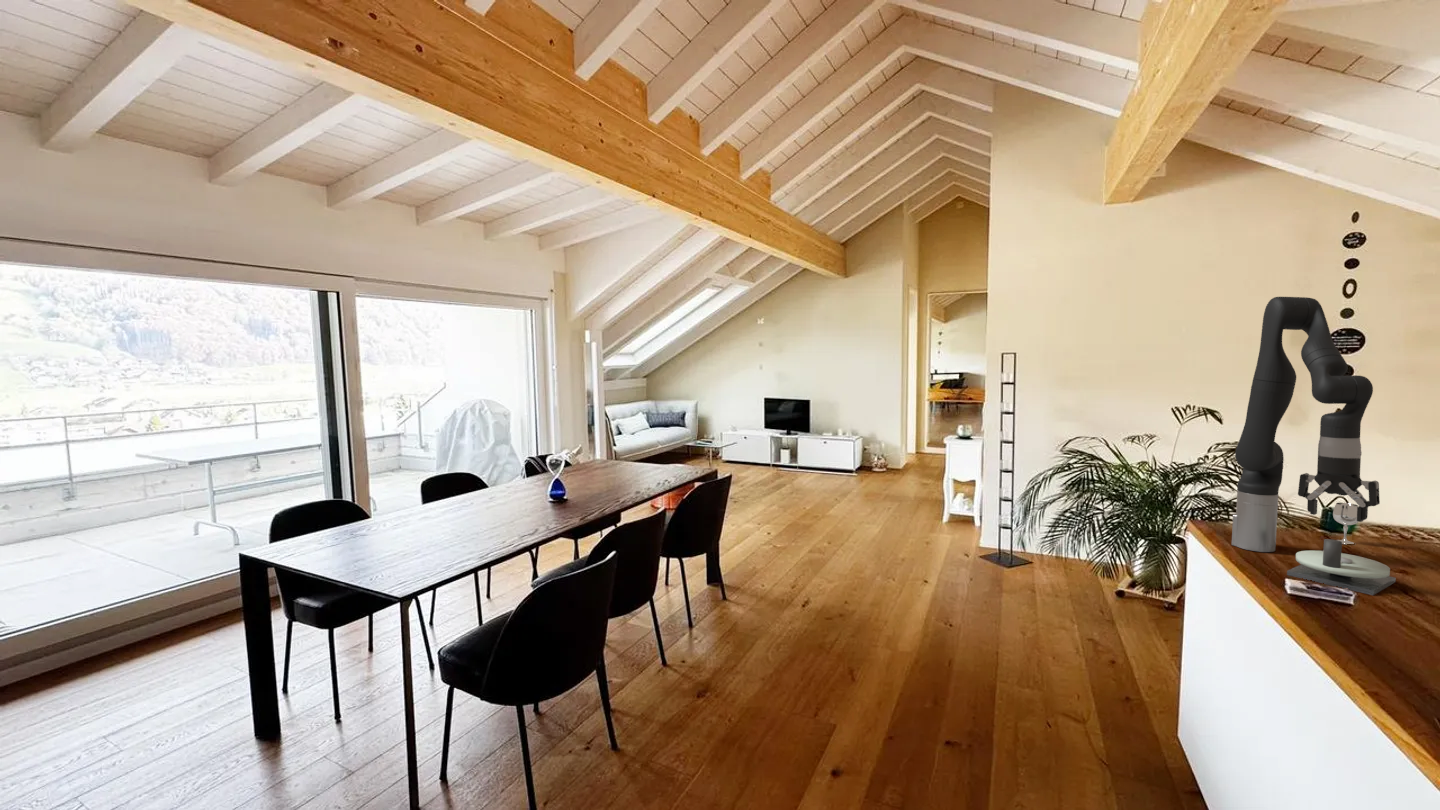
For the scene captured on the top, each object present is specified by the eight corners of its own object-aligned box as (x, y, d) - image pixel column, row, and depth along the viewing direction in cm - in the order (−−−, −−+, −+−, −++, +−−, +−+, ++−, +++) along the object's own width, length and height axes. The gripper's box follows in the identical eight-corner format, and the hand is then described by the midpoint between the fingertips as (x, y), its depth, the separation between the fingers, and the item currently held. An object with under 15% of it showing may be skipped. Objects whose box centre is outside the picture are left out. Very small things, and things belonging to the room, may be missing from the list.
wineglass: (1363, 545, 180) (1366, 507, 179) (1341, 545, 181) (1343, 506, 180) (1348, 540, 186) (1350, 502, 185) (1326, 539, 187) (1328, 501, 186)
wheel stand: (1287, 574, 159) (1287, 564, 159) (1311, 563, 166) (1311, 553, 166) (1373, 595, 145) (1373, 583, 145) (1395, 582, 152) (1396, 570, 152)
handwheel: (1310, 551, 167) (1311, 524, 166) (1399, 569, 152) (1401, 539, 151) (1284, 562, 159) (1286, 533, 158) (1376, 583, 144) (1378, 551, 143)
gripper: (1295, 452, 154) (1293, 514, 155) (1374, 459, 142) (1371, 526, 143) (1306, 450, 158) (1304, 509, 159) (1385, 456, 146) (1382, 521, 147)
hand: (1336, 517), depth 151 cm, fingers open, 8 cm apart
